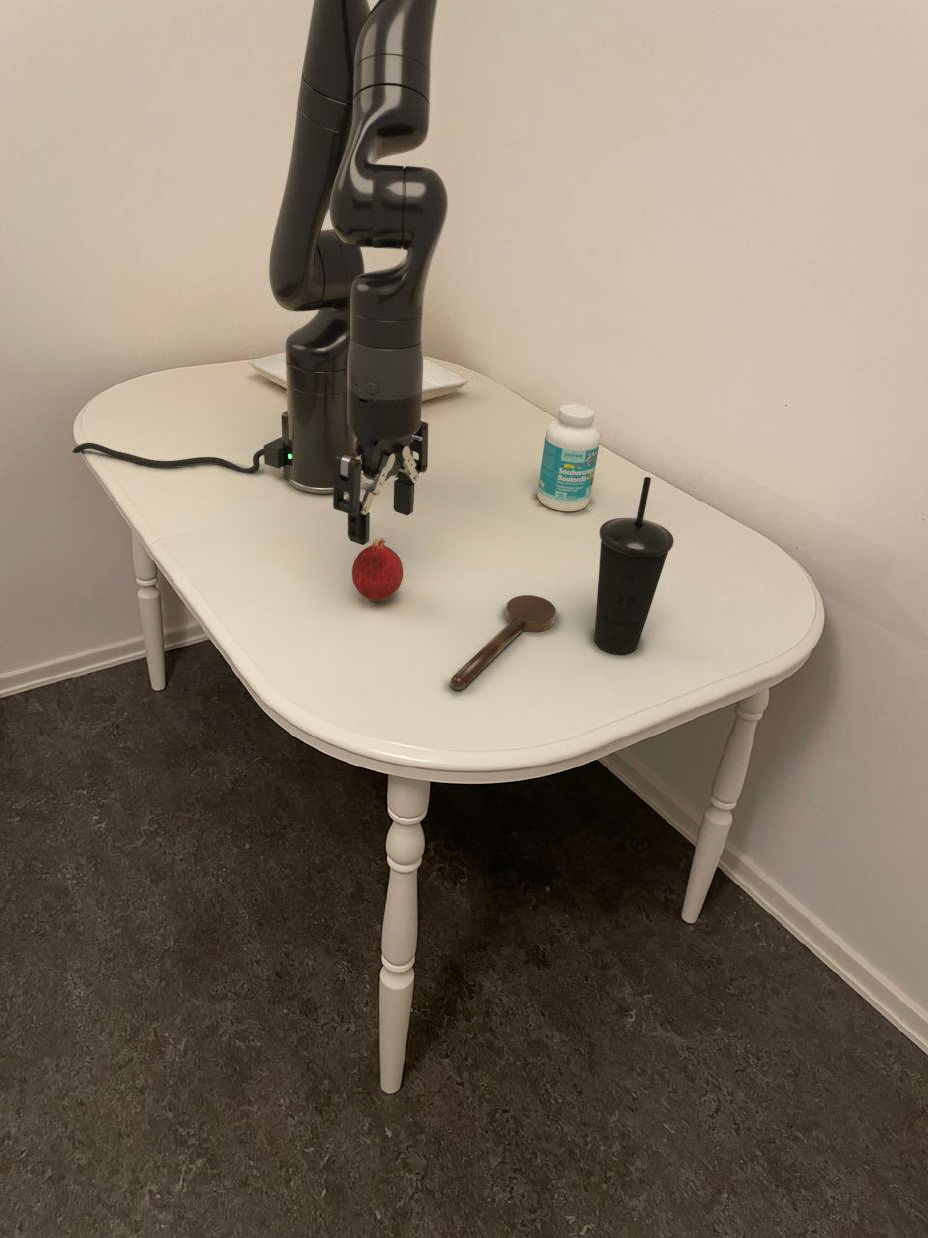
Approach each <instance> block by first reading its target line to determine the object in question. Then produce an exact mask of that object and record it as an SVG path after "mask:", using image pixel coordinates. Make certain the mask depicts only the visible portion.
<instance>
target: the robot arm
mask: <svg viewBox="0 0 928 1238" xmlns="http://www.w3.org/2000/svg"><path fill="white" fill-rule="evenodd" d="M437 7H438V0H378V1H377V2H376V3H375V5H374V6H373V7H372V8H371V7H370V4H369V1H368V0H313V4H312V10H311V17H310V21H309V22H310V23H309V29H308V35H307V40H306V46H305V52H304V57H303V58H304V59H303V63H302V69H301V75H300V76H301V77H300V83H299V89H298V95H297V96H298V97H297V104H296V114H295V124H294V132H293V140H292V145H291V146H292V147H291V151H290V152H291V153H290V158H289V165H288V171H287V175H286V176H287V177H286V180H285V186H284V189H283V190H284V191H283V196H282V199H281V200H282V201H281V204H280V208H279V211H278V216H277V220H276V224H275V227H274V232H273V236H272V240H271V246H270V250H269V251H270V253H269V259H268V277H269V278H268V279H269V284H270V289H271V293H272V296H273V298H274V300H275V301H276V304H278V305H279V306H280V307H281V308H282V309H284V310H285V311H289V312H295V313H296V312H298V313H299V312H301V313H303V312H311V311H317V313H316V314H315V315H314V316H313V317H312V318H311V319H310V320H309V321H308V322H307V323H305V324H304V325H303V326H301V327H299V328H298V329H296V330H294V331H293V332H291V333H290V334H289V335H288V337H286V340H285V346H284V349H285V353H286V383H287V389H286V411H284V412H282V414H281V418H280V419H281V436H280V437H278V438H275V439H274V440H272V441H270V442H267V443H266V444H264V445H263V448H261V449H259V450H257V451H256V452H254V454H253V457H252V463H253V465H252V466H250V467H248V468H247V467H245V468H244V467H240V466H239V465H236V464H234V463H233V462H231V461H229V460H227V459H224V458H221V457H216V456H198V457H191V458H189V457H188V458H183V459H177V460H158V459H150V458H145V457H142V456H139V455H134V454H131V453H128V452H122V451H119V450H115V449H112V448H109V447H106V446H104V445H102V444H99V443H94V442H83V443H81V444H79V445H77V446H75V448H73V450H71V451H72V452H71V453H73V454H79V453H81V452H83V451H84V450H94V451H98V452H101V453H103V454H106V455H109V456H111V457H115V458H117V459H123V460H126V461H131V462H134V463H137V464H141V465H145V466H150V467H156V468H172V467H173V468H177V467H184V466H190V465H191V466H192V465H196V464H197V465H198V464H216V465H221V466H223V467H225V468H228V469H229V470H231V471H235V472H239V473H242V474H251V475H252V474H254V473H255V472H257V471H258V470H259V469H260V466H261V465H260V459H261V457H262V456H263V461H264V463H263V464H264V465H267V466H269V467H272V468H275V469H277V470H278V469H280V468H281V469H282V476H283V479H286V480H288V482H289V484H290V485H291V486H292V487H294V488H295V489H297V490H300V491H302V492H304V493H305V492H306V493H309V494H316V495H317V494H318V495H320V494H321V495H328V494H333V496H332V508H333V509H334V510H336V511H340V512H343V513H345V514H347V537H348V539H349V540H350V542H352V543H355V544H358V545H361V546H365V545H366V544H368V543H369V542H370V530H371V527H370V526H371V525H370V524H371V521H370V520H371V512H370V508H371V506H372V503H373V501H374V498H375V496H378V495H380V494H381V492H382V489H383V487H384V484H385V483H386V482H387V481H388V480H389V479H390V478H391V477H394V478H396V479H394V480H393V507H392V508H393V510H394V512H396V513H399V514H402V515H404V516H409V515H411V514H413V512H414V502H415V486H416V485H415V484H417V483H418V481H419V478H420V475H419V474H420V473H423V474H425V473H426V471H427V470H428V465H429V464H428V463H429V423H428V422H426V421H422V405H423V402H422V385H423V358H424V354H423V327H424V305H425V294H426V289H427V288H426V287H427V282H428V278H429V275H430V270H431V267H432V263H433V260H434V257H435V253H436V251H437V247H438V245H439V242H440V239H441V236H442V233H443V230H444V228H445V223H446V220H447V216H448V210H449V197H448V192H447V188H446V185H445V182H444V180H443V179H442V177H441V176H440V175H439V174H438V173H437V172H436V171H435V170H434V169H432V168H429V167H425V166H414V165H397V164H383V163H382V164H381V163H380V164H379V163H377V162H379V161H380V160H382V159H384V158H387V157H390V156H396V155H401V154H405V153H408V152H409V153H410V152H412V151H415V150H416V149H418V148H419V147H421V146H422V145H423V144H424V143H425V141H426V140H427V138H428V135H429V130H430V120H431V119H430V116H431V114H430V113H431V79H432V74H431V70H432V69H431V68H432V49H433V47H432V46H433V38H434V36H433V35H434V27H435V21H436V13H437ZM328 213H329V216H330V217H329V218H330V219H329V220H330V223H331V226H332V228H333V229H332V228H331V229H330V228H329V229H323V225H324V222H325V219H326V217H327V216H328ZM362 248H367V249H368V248H369V249H373V248H374V249H384V250H385V249H387V250H403V251H406V253H405V255H404V257H403V258H402V260H401V261H400V262H399V263H397V264H396V265H394V266H391V267H388V268H383V269H378V270H372V271H368V272H366V269H365V261H364V256H363V255H364V254H363V252H362V251H363V250H362ZM414 452H415V453H417V455H418V459H417V458H414ZM362 475H363V476H364V478H365V479H367V480H371V481H372V482H370V483H368V482H365V481H362ZM361 491H363V492H364V495H363V497H362V500H361ZM345 493H346V495H345Z"/></svg>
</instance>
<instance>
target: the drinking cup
mask: <svg viewBox="0 0 928 1238" xmlns="http://www.w3.org/2000/svg"><path fill="white" fill-rule="evenodd" d="M651 482H652V478H651V477H649V476H645V477H644V478H643V483H642V488H641V494H640V499H639V504H638V507H637V508H638V509H637V513H636V517H617V518H612V519H609V520H606V521H605V522H604V523H602V525H601V526H600V527H599V531H598V532H599V533H598V535H599V539H600V553H599V554H600V555H599V568H598V581H597V594H596V595H597V597H596V610H595V624H594V625H595V626H594V639H593V640H594V643H595V646H597V647H598V648H599V649H600V650H602V651H604V652H606V653H608V654H611V655H617V656H626V655H630V654H633V653H634V652H635V651H636V650H637V649H638V648H639V647H638V646H639V644H640V640H641V637H642V633H643V631H644V628H645V625H646V621H647V619H648V616H649V613H650V610H651V606H652V604H653V600H654V597H655V594H656V590H657V588H658V586H659V585H658V584H659V581H660V578H661V576H662V572H663V569H664V566H665V563H666V560H667V557H668V554H669V552H670V551H671V550H672V549H673V547H674V542H675V540H674V536H673V534H672V533H671V531H670V530H668V529H667V528H665V526H662V525H661V524H658V523H656V522H654V521H651V520H647V519H644V518H645V512H646V507H647V503H648V502H647V501H648V497H649V491H650V486H651Z"/></svg>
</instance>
